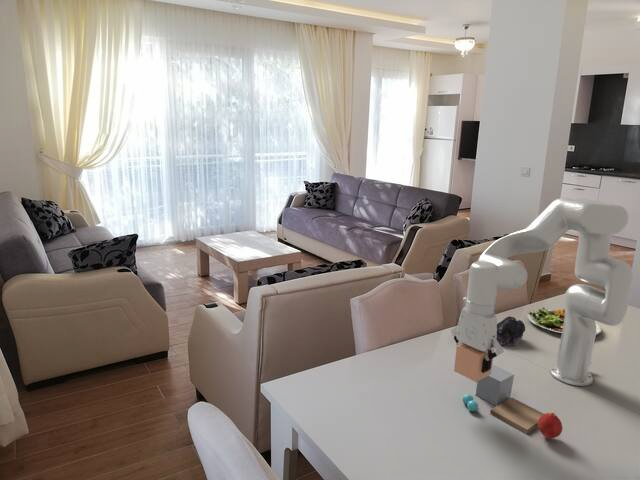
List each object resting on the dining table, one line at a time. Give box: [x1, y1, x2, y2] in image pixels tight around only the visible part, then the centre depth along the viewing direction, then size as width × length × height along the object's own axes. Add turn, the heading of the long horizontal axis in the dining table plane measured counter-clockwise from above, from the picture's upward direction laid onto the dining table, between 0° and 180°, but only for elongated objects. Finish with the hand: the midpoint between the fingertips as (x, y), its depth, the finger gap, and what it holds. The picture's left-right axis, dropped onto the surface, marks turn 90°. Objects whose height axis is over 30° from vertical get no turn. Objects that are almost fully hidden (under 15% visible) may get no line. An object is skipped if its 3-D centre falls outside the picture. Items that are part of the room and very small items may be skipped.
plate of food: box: [526, 307, 602, 335], centre depth 198 cm, size 28×28×6 cm
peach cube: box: [453, 343, 495, 383], centre depth 134 cm, size 7×7×8 cm
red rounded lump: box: [537, 411, 563, 440], centre depth 125 cm, size 6×6×8 cm
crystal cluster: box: [496, 315, 526, 346], centre depth 182 cm, size 13×14×10 cm
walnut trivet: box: [489, 397, 545, 435], centre depth 134 cm, size 11×11×1 cm
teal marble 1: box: [462, 393, 474, 406], centre depth 139 cm, size 3×3×3 cm
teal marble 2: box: [466, 399, 479, 413], centre depth 136 cm, size 3×3×3 cm
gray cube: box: [475, 363, 515, 407], centre depth 143 cm, size 7×7×8 cm
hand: (473, 364), depth 134 cm, fingers closed on peach cube, 7 cm apart
